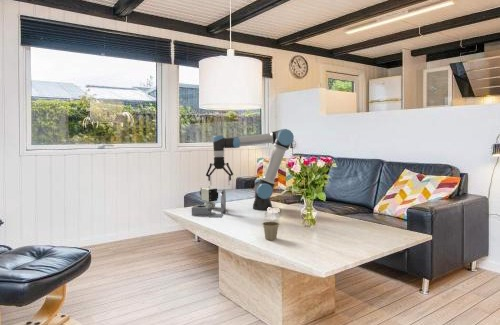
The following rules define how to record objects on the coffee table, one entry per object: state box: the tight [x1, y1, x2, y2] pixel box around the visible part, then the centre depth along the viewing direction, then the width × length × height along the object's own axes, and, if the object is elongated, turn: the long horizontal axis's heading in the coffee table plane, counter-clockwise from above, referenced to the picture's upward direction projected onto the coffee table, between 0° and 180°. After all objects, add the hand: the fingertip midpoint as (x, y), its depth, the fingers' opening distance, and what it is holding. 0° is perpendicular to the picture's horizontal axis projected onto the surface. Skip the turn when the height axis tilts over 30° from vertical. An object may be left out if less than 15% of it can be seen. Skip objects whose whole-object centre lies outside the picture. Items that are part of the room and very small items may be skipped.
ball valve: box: [199, 185, 219, 210], centre depth 289 cm, size 18×8×18 cm, turn 37°
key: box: [220, 189, 227, 215], centre depth 269 cm, size 4×10×17 cm, turn 175°
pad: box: [208, 213, 224, 218], centre depth 262 cm, size 9×9×1 cm
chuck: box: [191, 204, 212, 217], centre depth 269 cm, size 12×12×6 cm
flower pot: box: [262, 221, 280, 241], centre depth 203 cm, size 9×9×9 cm
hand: (219, 185), depth 269 cm, fingers open, 13 cm apart
